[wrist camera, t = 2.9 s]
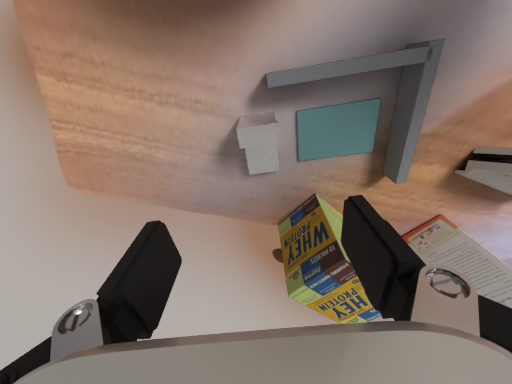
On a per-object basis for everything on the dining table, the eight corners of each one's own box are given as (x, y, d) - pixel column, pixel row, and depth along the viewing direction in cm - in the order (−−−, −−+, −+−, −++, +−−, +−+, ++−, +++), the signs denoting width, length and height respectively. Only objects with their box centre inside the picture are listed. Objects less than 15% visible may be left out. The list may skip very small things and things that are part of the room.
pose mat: (296, 111, 30) (297, 111, 30) (379, 98, 29) (381, 98, 29) (298, 160, 34) (299, 161, 34) (371, 150, 33) (372, 151, 33)
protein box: (314, 191, 38) (346, 258, 24) (363, 231, 43) (411, 304, 30) (276, 225, 42) (286, 297, 29) (325, 257, 47) (352, 331, 34)
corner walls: (265, 69, 27) (266, 69, 24) (420, 42, 26) (445, 38, 22) (277, 186, 37) (279, 198, 34) (391, 171, 35) (405, 182, 32)
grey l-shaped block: (240, 116, 31) (236, 128, 24) (273, 111, 30) (277, 122, 24) (249, 169, 35) (248, 192, 29) (278, 165, 35) (283, 187, 28)
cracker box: (389, 261, 48) (470, 376, 30) (376, 248, 45) (454, 365, 28) (452, 228, 42) (596, 345, 24) (441, 212, 40) (589, 328, 22)
